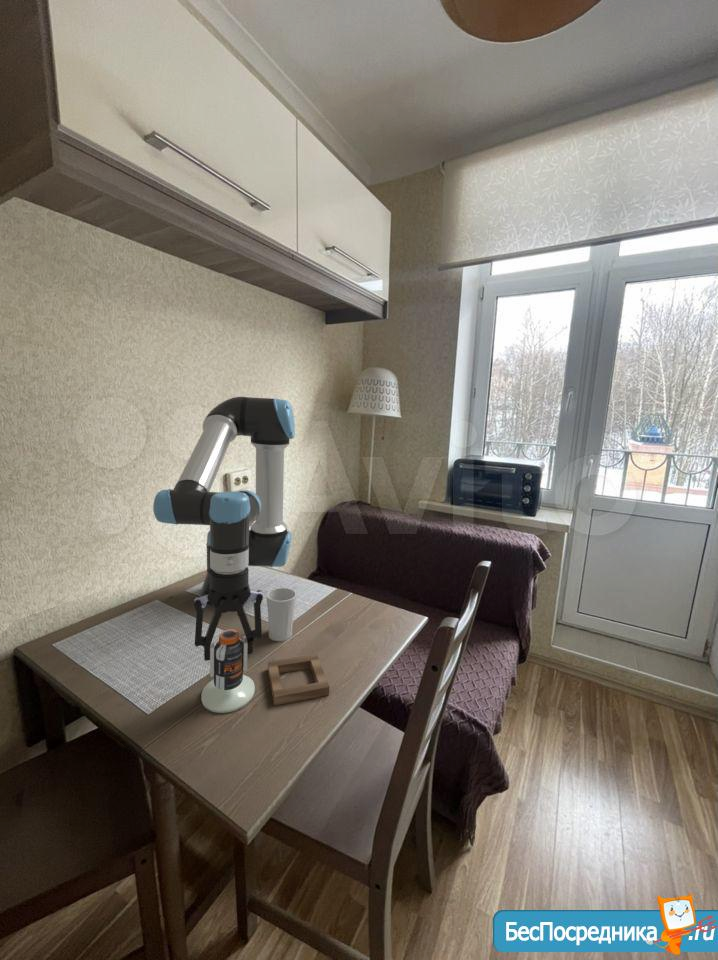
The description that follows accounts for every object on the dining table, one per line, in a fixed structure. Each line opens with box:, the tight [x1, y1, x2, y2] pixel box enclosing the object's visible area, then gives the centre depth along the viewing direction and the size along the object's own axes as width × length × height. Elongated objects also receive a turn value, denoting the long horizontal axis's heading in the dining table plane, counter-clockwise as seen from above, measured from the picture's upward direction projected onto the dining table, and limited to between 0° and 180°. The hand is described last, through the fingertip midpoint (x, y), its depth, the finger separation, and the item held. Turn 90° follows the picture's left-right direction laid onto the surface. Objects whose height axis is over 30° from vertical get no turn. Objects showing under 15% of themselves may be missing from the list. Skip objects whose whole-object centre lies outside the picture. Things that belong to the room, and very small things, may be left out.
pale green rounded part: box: [201, 674, 256, 714], centre depth 84 cm, size 11×11×1 cm
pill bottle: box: [213, 628, 244, 690], centre depth 82 cm, size 6×6×11 cm
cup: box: [266, 587, 297, 642], centre depth 106 cm, size 8×8×12 cm
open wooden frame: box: [267, 654, 330, 706], centre depth 89 cm, size 12×12×2 cm
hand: (228, 669), depth 83 cm, fingers closed on pill bottle, 6 cm apart
